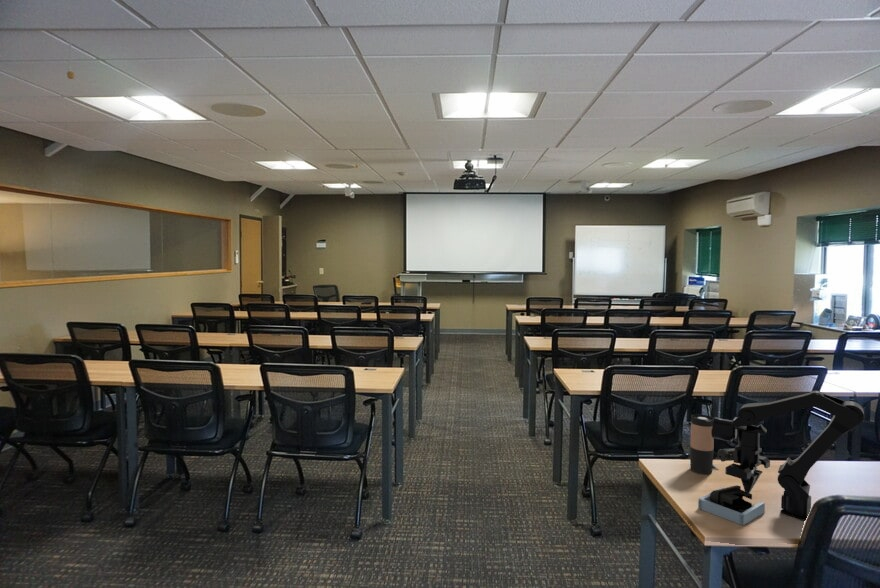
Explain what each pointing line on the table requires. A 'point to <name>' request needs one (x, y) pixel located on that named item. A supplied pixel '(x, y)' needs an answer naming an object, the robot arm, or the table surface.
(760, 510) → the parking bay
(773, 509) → the table surface
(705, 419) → the travel mug
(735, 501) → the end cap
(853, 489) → the table surface
